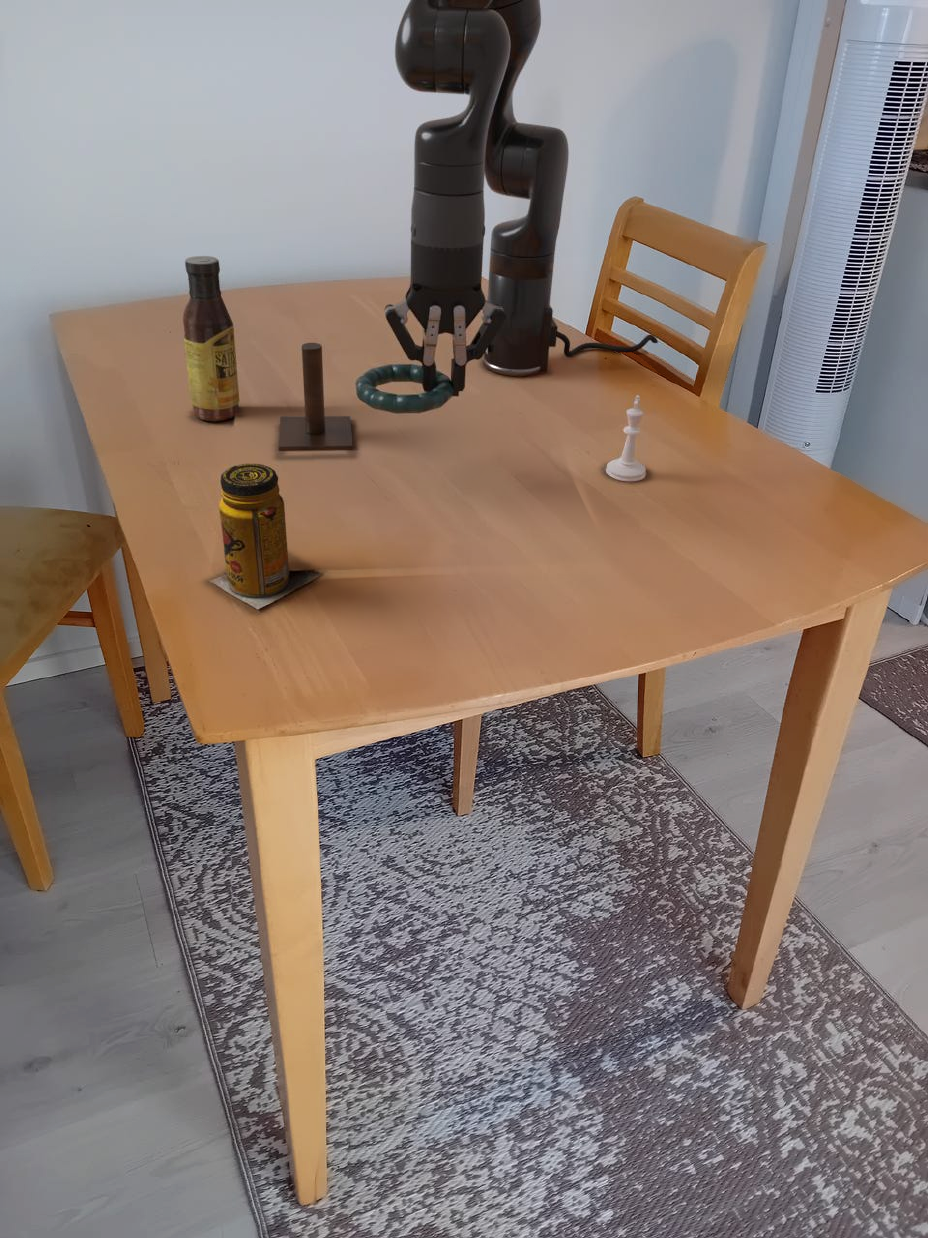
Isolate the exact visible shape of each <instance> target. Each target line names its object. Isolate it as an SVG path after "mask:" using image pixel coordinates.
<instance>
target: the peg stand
mask: <svg viewBox="0 0 928 1238" xmlns="http://www.w3.org/2000/svg"><path fill="white" fill-rule="evenodd" d="M301 361H302V378H303V379H302V380H303V381H302V383H303V401H304V416H280V418H279V421H280V422H279V431H278V432H279V433H278V451H279V452H293V451H294V452H295V451H296V452H297V451H299V452H300V451H301V452H303V451H353V446H354V445H353V434H352V422H351V416H350V415H338V416H337V415H333V416H332V415H331V416H330V415H328V416H327V415H326V416H325V394H324V393H325V392H324V368H323V367H324V365H323V346H322V344H320V343H318V342H306V343H303V344H301Z"/></svg>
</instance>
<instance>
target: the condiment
mask: <svg viewBox="0 0 928 1238" xmlns="http://www.w3.org/2000/svg"><path fill="white" fill-rule="evenodd" d="M278 482H279V476H278V473H277V472H276V470H275V469H274V468H272V467H270V466H268V465H264V464H261V463H241V464H237V465H233V466H231V467H229V468H228V469H226V470H224V471H223V473H221V475H220V487H221V492H220V494H221V499H220V501H219V506H218V508H219V518H220V525H221V533H222V534H221V535H222V542H223V553H224V561H225V569H226V573H225V574H223V575H220V576H219V577H216V578H214V579H210V580H209V582H211V583H212V584H214V585H215V586H217V587H219V588H220V589H221V590H223V591H225V592H226V593H228V594H229V595H231V596H232V597H234V598H236V599H238V600H239V601H241V602H243V603H245V604H248V605H249V606H251V607H253V608H254V609H256V610H259V609H262V608H263V607H266V606H267V605H270V604H272V603H274V602H275V601H278V600H280V599H281V598H284V597H285V596H288V595H289V594H290V593H291V592H294V591H295V590H297V589H298V588H301V587H303V586H304V585H307V584H309V583H310V582H312V581H313V580H314V579H316V578H318V577H320V576H322V575H323V573H321V572H319V571H316V570H314V569H299V570H290V567H289V566H290V563H289V551H288V539H287V537H288V536H287V523H286V512H285V511H286V509H285V501H284V498H283V496H281V494H280V487H279V483H278Z"/></svg>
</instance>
